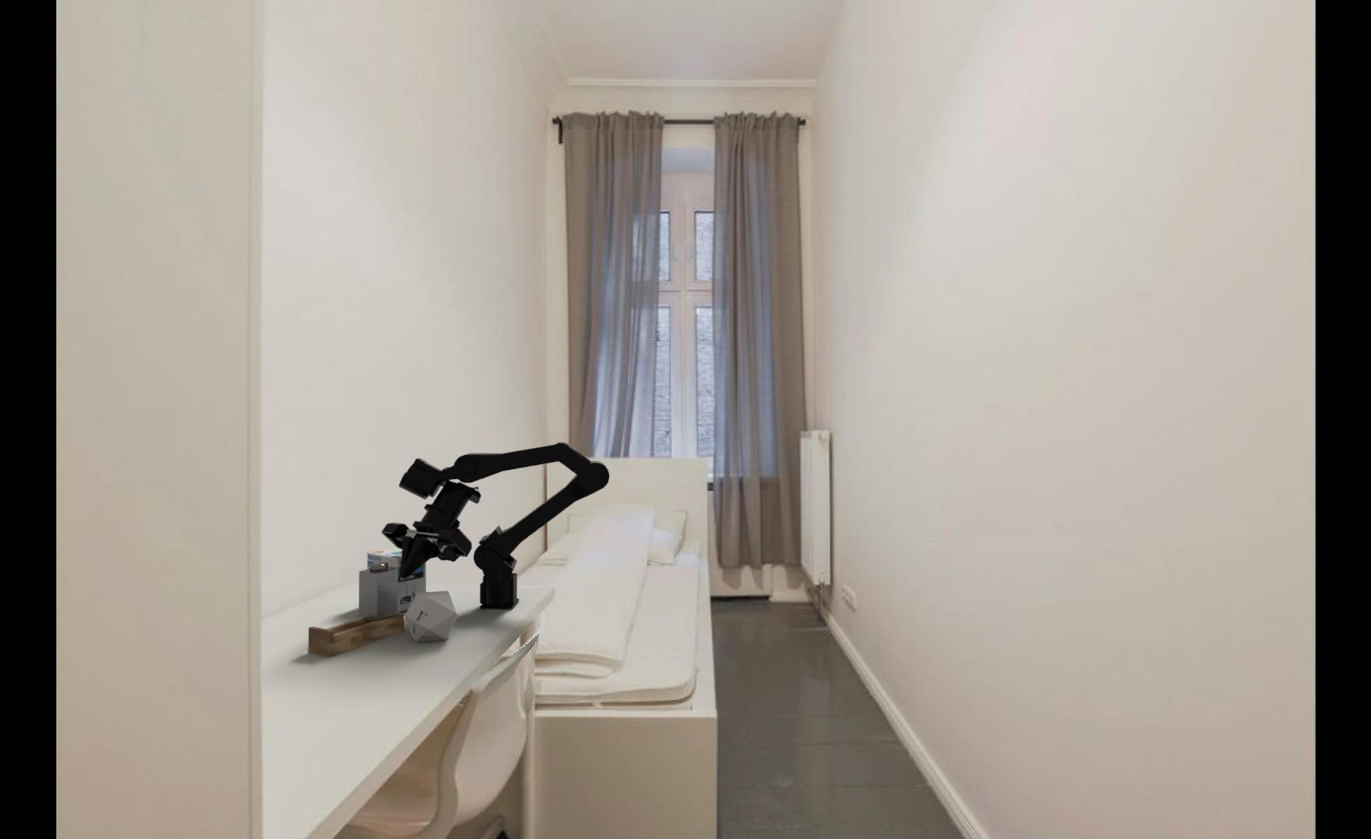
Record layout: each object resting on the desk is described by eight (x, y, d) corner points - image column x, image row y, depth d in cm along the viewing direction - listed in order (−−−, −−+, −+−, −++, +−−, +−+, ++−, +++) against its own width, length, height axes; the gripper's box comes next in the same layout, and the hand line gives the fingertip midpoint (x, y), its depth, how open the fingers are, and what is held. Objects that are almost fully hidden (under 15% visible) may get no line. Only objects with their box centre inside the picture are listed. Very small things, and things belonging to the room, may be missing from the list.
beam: (383, 626, 122) (383, 604, 122) (404, 630, 120) (405, 608, 120) (307, 652, 109) (308, 627, 109) (330, 657, 107) (330, 632, 107)
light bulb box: (427, 605, 137) (427, 552, 137) (397, 613, 131) (398, 558, 131) (394, 597, 142) (395, 546, 142) (365, 605, 137) (365, 552, 137)
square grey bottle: (379, 615, 121) (380, 560, 121) (397, 618, 119) (398, 563, 119) (358, 622, 117) (359, 565, 117) (377, 625, 115) (377, 567, 115)
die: (397, 640, 117) (392, 605, 111) (432, 605, 124) (428, 571, 118) (435, 661, 115) (431, 627, 109) (468, 625, 122) (466, 591, 116)
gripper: (502, 535, 135) (463, 605, 125) (434, 529, 143) (392, 594, 133) (473, 502, 128) (429, 573, 118) (403, 497, 136) (356, 563, 126)
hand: (402, 577), depth 124 cm, fingers closed
